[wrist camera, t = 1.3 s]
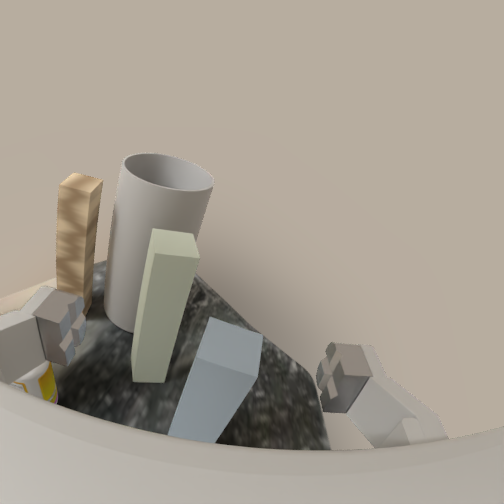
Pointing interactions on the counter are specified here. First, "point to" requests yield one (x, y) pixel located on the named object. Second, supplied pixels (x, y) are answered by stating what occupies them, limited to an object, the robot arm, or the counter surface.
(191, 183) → the cylinder vase
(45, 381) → the supplement bottle
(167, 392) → the counter surface
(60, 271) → the post oak
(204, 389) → the post slate
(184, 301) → the post sage
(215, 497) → the robot arm
